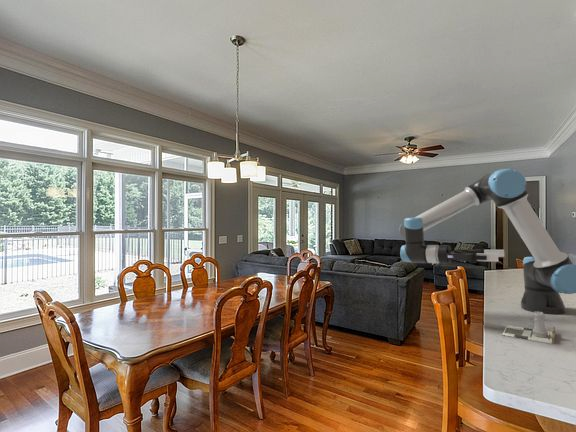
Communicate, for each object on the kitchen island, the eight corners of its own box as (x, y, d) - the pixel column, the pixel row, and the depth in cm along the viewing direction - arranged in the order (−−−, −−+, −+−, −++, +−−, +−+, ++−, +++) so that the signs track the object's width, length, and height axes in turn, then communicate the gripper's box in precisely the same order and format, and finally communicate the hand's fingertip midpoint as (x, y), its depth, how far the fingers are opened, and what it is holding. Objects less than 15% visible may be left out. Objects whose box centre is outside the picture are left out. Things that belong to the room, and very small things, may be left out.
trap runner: (507, 326, 120) (506, 320, 120) (555, 333, 111) (555, 327, 111) (502, 335, 111) (501, 329, 111) (554, 344, 102) (553, 337, 102)
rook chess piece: (541, 333, 111) (539, 310, 111) (552, 337, 107) (550, 313, 107) (528, 333, 111) (527, 310, 111) (539, 338, 106) (537, 314, 107)
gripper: (448, 259, 139) (507, 261, 125) (430, 267, 120) (496, 271, 106) (447, 242, 139) (505, 242, 125) (428, 248, 121) (494, 248, 107)
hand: (501, 255), depth 116 cm, fingers open, 13 cm apart
